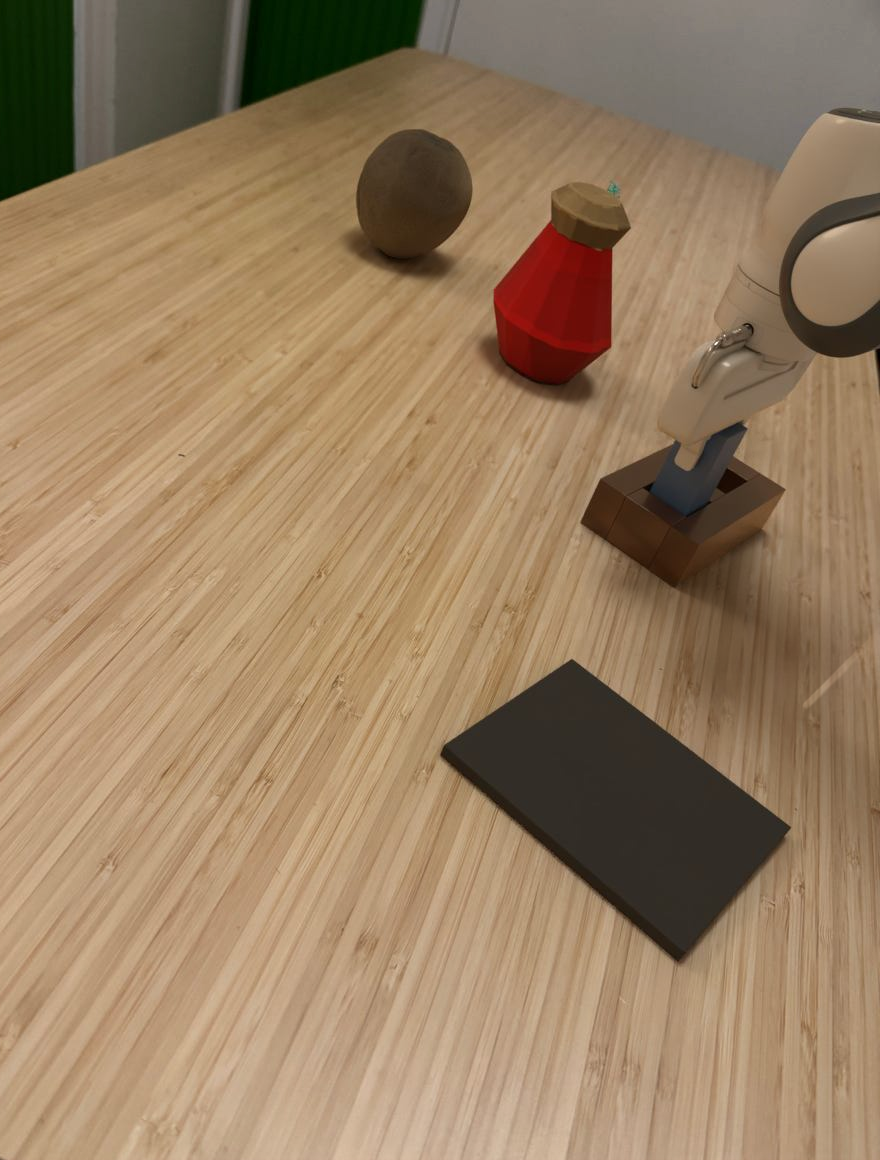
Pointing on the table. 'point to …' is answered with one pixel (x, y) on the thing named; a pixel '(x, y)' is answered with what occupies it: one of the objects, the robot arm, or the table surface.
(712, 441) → the peg
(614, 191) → the anatomy model
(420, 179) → the cantaloupe
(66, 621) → the table surface
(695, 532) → the peg block
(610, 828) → the mat
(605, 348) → the bottle
